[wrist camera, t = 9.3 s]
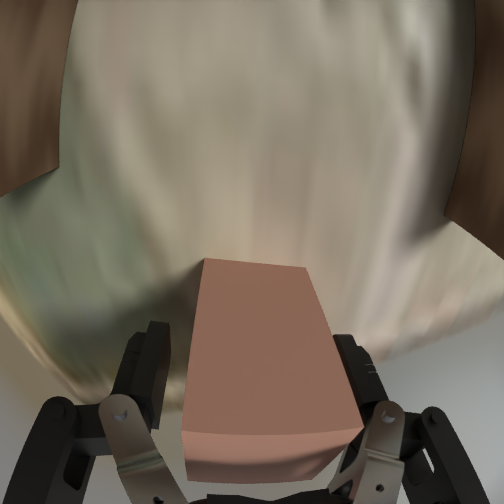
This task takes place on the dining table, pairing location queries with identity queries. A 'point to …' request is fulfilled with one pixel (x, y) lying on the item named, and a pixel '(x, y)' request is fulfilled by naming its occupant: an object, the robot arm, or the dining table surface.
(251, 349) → the terracotta block
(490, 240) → the u-shaped bracket
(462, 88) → the dining table surface
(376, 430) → the robot arm
